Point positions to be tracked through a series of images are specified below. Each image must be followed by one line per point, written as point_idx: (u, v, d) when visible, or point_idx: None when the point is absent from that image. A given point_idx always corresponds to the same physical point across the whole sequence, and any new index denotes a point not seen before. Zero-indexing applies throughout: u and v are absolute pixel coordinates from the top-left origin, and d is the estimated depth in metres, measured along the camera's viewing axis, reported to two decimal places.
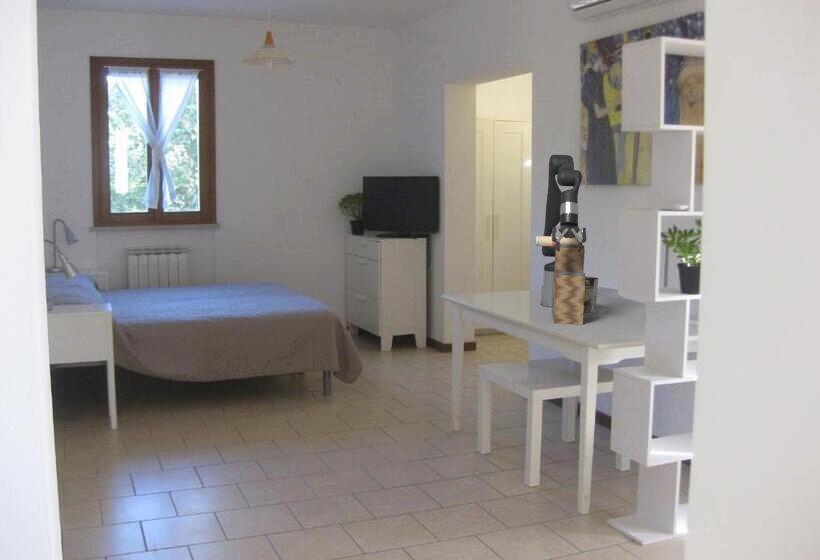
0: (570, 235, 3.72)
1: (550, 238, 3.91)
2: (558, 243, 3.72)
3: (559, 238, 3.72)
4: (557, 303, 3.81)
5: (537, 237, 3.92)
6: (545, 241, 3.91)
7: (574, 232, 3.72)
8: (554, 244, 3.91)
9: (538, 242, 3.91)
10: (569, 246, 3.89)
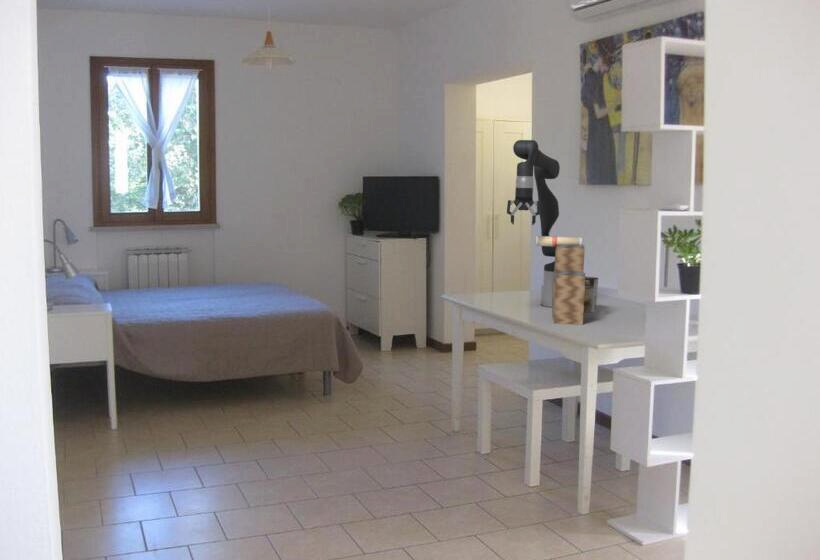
0: (524, 209, 3.81)
1: (550, 238, 3.91)
2: (512, 217, 3.82)
3: (513, 212, 3.81)
4: (557, 303, 3.81)
5: (537, 237, 3.92)
6: (545, 241, 3.91)
7: (528, 206, 3.80)
8: (554, 244, 3.91)
9: (538, 242, 3.91)
10: (569, 246, 3.89)
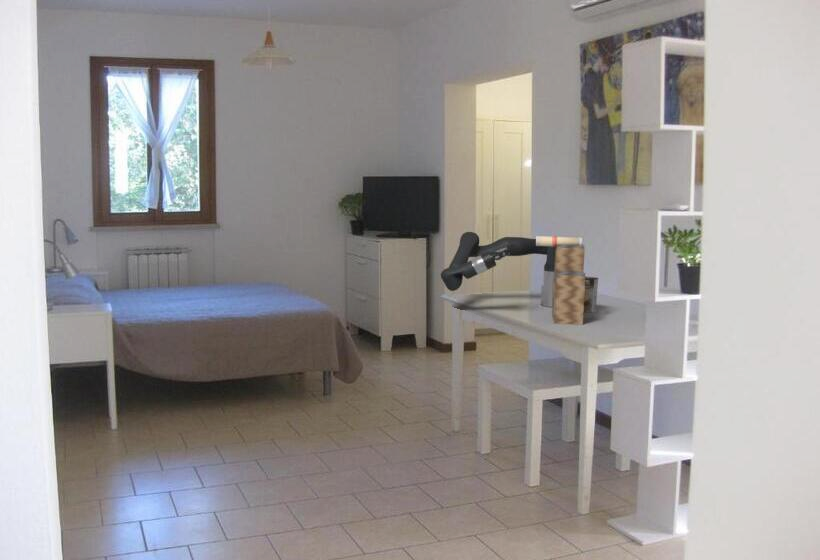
0: None
1: (550, 238, 3.91)
2: (508, 248, 3.90)
3: (504, 249, 3.90)
4: (557, 303, 3.81)
5: (537, 237, 3.92)
6: (545, 241, 3.91)
7: (498, 250, 3.97)
8: (554, 244, 3.91)
9: (538, 242, 3.91)
10: (569, 246, 3.89)
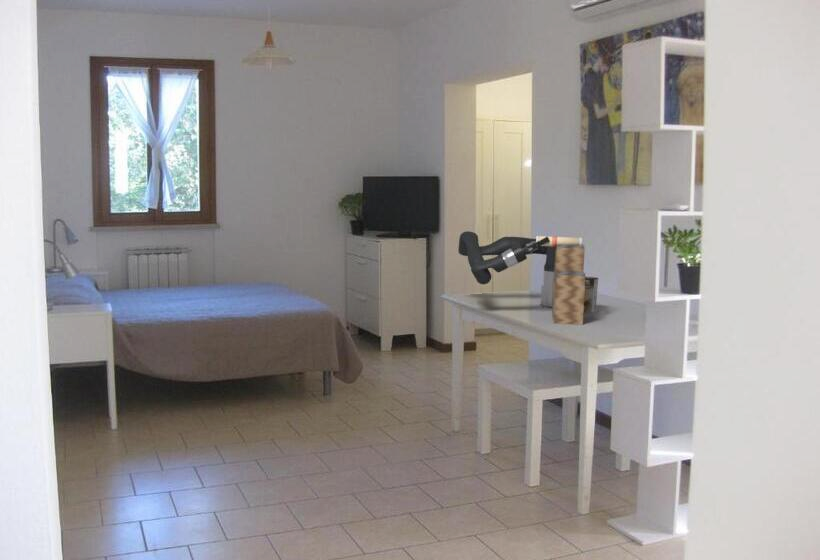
0: (531, 244, 3.94)
1: (550, 238, 3.91)
2: None
3: None
4: (557, 303, 3.81)
5: (537, 237, 3.92)
6: None
7: (529, 243, 3.95)
8: (554, 244, 3.91)
9: None
10: (569, 246, 3.89)
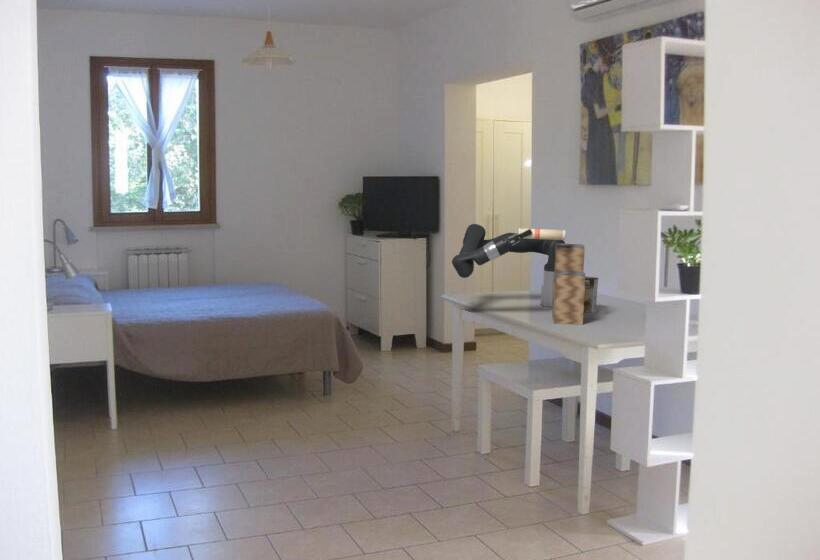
0: None
1: (533, 230, 3.82)
2: (523, 232, 3.81)
3: (518, 234, 3.81)
4: (557, 303, 3.81)
5: (519, 229, 3.82)
6: None
7: (511, 235, 3.86)
8: (537, 236, 3.81)
9: None
10: (569, 246, 3.89)
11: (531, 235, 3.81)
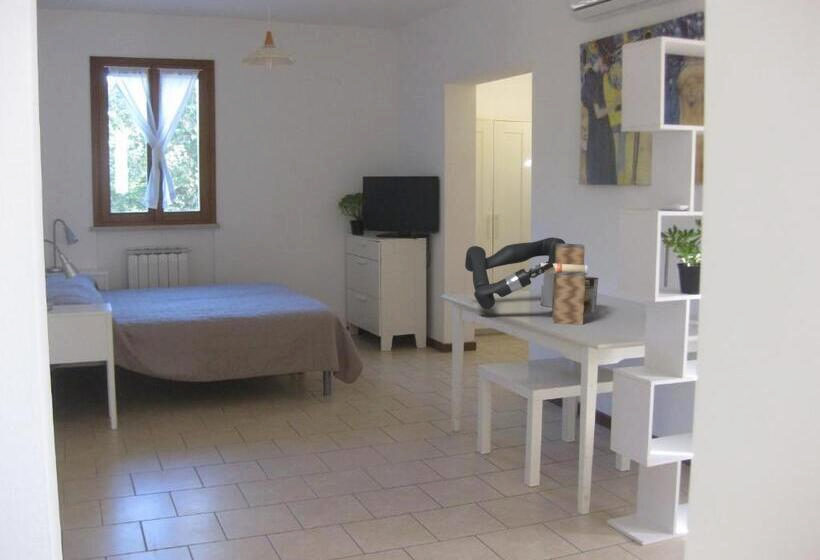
0: None
1: (555, 265, 3.82)
2: (545, 265, 3.80)
3: (540, 267, 3.81)
4: (557, 303, 3.81)
5: (542, 264, 3.83)
6: (550, 269, 3.82)
7: None
8: (559, 271, 3.82)
9: None
10: (569, 246, 3.89)
11: (553, 270, 3.82)
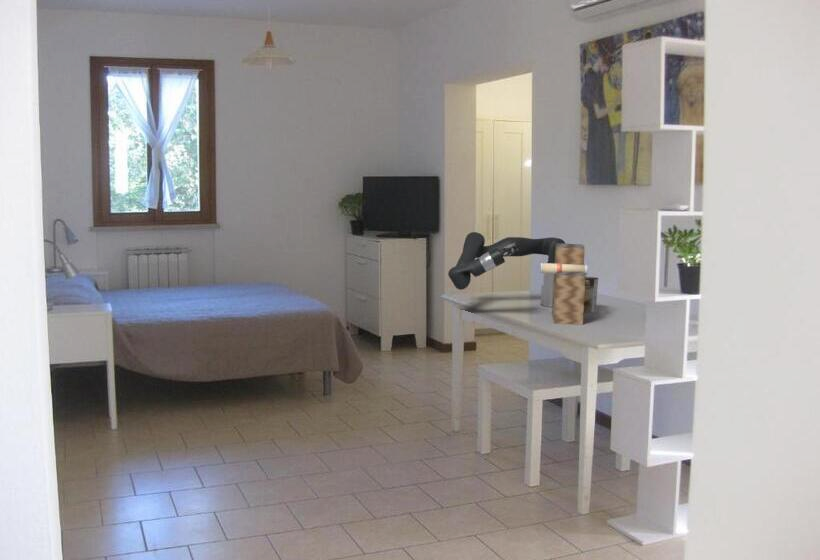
0: None
1: (555, 265, 3.82)
2: (517, 243, 3.81)
3: (512, 245, 3.81)
4: (557, 303, 3.81)
5: (542, 264, 3.83)
6: (550, 269, 3.82)
7: (506, 246, 3.88)
8: None
9: (542, 270, 3.83)
10: (569, 246, 3.89)
11: (553, 270, 3.82)
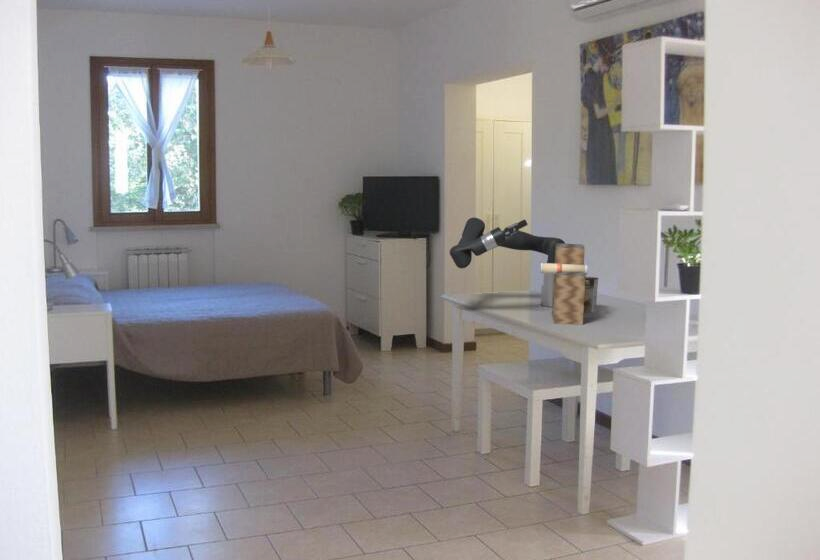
0: None
1: (555, 265, 3.82)
2: (519, 223, 3.81)
3: (514, 225, 3.82)
4: (557, 303, 3.81)
5: (542, 264, 3.83)
6: (550, 269, 3.82)
7: (508, 226, 3.88)
8: None
9: (542, 270, 3.83)
10: (569, 246, 3.89)
11: (553, 270, 3.82)
